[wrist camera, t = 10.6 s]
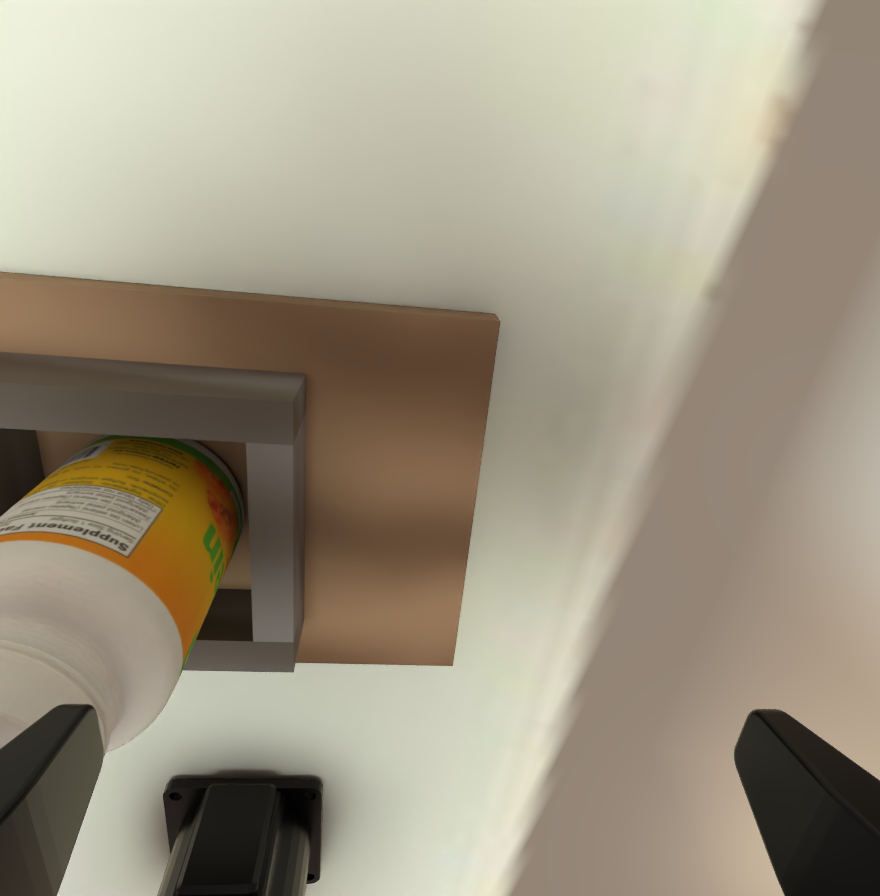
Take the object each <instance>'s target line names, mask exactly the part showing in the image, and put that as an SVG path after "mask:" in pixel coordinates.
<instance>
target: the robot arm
mask: <svg viewBox="0 0 880 896" xmlns="http://www.w3.org/2000/svg"><path fill="white" fill-rule="evenodd" d="M103 757H104V746H103V741H102V736H101V731H100V726H99V721H98V716H97V712H96V709H95V708H94V706H92V705H90V704H61V705H58V706H56V707H54V708H53V709H51V710H50V711H49V712H47V713H46V714H45V715H43V716H42V717H41V718H39V719H38V720H37V721H36V722H34V723H33V724H32V725H30V726H29V727H28V728H26V729H25V730H24V731H23V732H21V733H20V734H19V735H17V736H16V737H15V738H13V739H12V740H11V741H10V742H8V743H7V744H6V745H4V746H3V747H2V748H0V896H57V893H58V890H59V888H60V885H61V882H62V880H63V877H64V874H65V871H66V868H67V865H68V862H69V860H70V857H71V854H72V851H73V848H74V845H75V842H76V839H77V836H78V834H79V831H80V828H81V825H82V822H83V819H84V816H85V813H86V810H87V808H88V805H89V802H90V799H91V796H92V793H93V790H94V787H95V785H96V782H97V779H98V776H99V773H100V770H101V767H102V763H103ZM734 760H735V765H736V768H737V771H738V774H739V777H740V779H741V782H742V785H743V788H744V790H745V793H746V795H747V798H748V801H749V804H750V807H751V809H752V812H753V815H754V818H755V820H756V823H757V826H758V829H759V831H760V834H761V837H762V839H763V842H764V845H765V848H766V850H767V853H768V856H769V859H770V861H771V863H772V866H773V869H774V871H775V874H776V876H777V879H778V881H779V884H780V886H781V888H782V891H783V893H784V895H785V896H880V780H878V779H877V778H875V777H874V776H873V775H871V774H870V773H869V772H867V771H866V770H864V769H863V768H861V767H860V766H859V765H857V764H856V763H855V762H853V761H852V760H850V759H849V758H848V757H846V756H845V755H844V754H842V753H841V752H840V751H838V750H837V749H835V748H834V747H833V746H831V745H830V744H828V743H827V742H826V741H824V740H823V739H821V738H820V737H819V736H817V735H816V734H814V733H813V732H812V731H810V730H809V729H808V728H806V727H805V726H804V725H802V724H801V723H799V722H798V721H797V720H795V719H794V718H793V717H791V716H790V715H788V714H787V713H785V712H783V711H781V710H776V709H755V710H753V711H751V712H750V713H749V714H748V716H747V719H746V721H745V723H744V726H743V728H742V731H741V733H740V736H739V738H738V741H737V743H736V746H735V750H734ZM163 800H164V808H165V816H166V823H167V831H168V839H169V846H170V854H171V855H170V858H169V861H168V864H167V867H166V870H165V873H164V876H163V879H162V882H161V885H160V888H159V891H158V895H157V896H305V889H306V884H311V883H315V882H317V881H318V880H319V878H320V872H321V847H322V810H323V785H322V784H321V783H320V782H319V781H317V780H312V779H177V780H172V781H170V782H169V783H168V784H167V786H166V788H165V791H164V794H163Z"/></svg>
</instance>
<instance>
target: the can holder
mask: <svg viewBox="0 0 880 896" xmlns="http://www.w3.org/2000/svg"><path fill="white" fill-rule="evenodd" d="M499 326H500V320H499V319H498V317H497V316H496V315H495V314H489V313H477V312H466V311H454V310H442V309H430V308H418V307H407V306H395V305H383V304H371V303H360V302H348V301H336V300H324V299H313V298H301V297H289V296H277V295H265V294H254V293H242V292H230V291H218V290H207V289H195V288H183V287H171V286H160V285H148V284H136V283H124V282H112V281H101V280H89V279H77V278H65V277H54V276H42V275H30V274H18V273H7V272H0V517H1V516H2V515H3V514H4V513H6V512H7V511H8V510H9V509H10V508H11V507H12V506H14V505H15V504H16V503H17V502H18V501H20V500H21V499H22V498H23V497H24V496H26V495H27V494H28V493H29V492H30V491H32V490H33V489H34V488H35V487H36V486H38V485H39V484H40V483H41V482H42V481H43V480H45V479H46V478H47V477H48V476H49V475H50V474H52V473H53V472H54V471H55V470H56V469H58V468H59V467H60V466H61V465H62V464H64V463H65V462H66V461H67V460H68V459H69V458H71V457H72V456H73V455H75V454H76V453H77V452H78V451H80V450H81V449H83V448H84V447H85V446H86V445H88V444H89V443H91V442H93V441H94V440H96V439H98V438H100V437H102V436H105V435H107V434H108V435H125V436H142V437H159V438H176V439H191V440H193V441H195V442H197V443H199V444H201V445H202V446H204V447H205V448H207V449H208V450H210V451H211V452H212V453H213V454H214V455H216V456H217V457H218V458H219V459H220V460H221V461H222V462H223V463H224V465H225V466H226V467H227V468H228V470H229V471H230V472H231V474H232V475H233V477H234V479H235V481H236V483H237V485H238V487H239V489H240V492H241V495H242V499H243V506H244V523H243V528H242V532H241V535H240V538H239V541H238V544H237V546H236V549H235V551H234V554H233V556H232V558H231V560H230V562H229V564H228V567H227V569H226V571H225V574H224V576H223V578H222V580H221V582H220V585H219V587H218V589H217V591H216V594H215V596H214V598H213V601H212V603H211V605H210V608H209V610H208V612H207V615H206V617H205V619H204V622H203V624H202V626H201V628H200V631H199V633H198V635H197V638H196V640H195V642H194V645H193V647H192V649H191V652H190V654H189V656H188V659H187V661H186V663H185V665H184V668H183V670H198V671H250V672H294V667H295V663H339V664H386V665H433V666H453V660H454V653H455V646H456V638H457V631H458V624H459V617H460V609H461V602H462V595H463V588H464V580H465V573H466V566H467V559H468V551H469V544H470V537H471V530H472V522H473V515H474V508H475V500H476V493H477V486H478V479H479V471H480V464H481V457H482V450H483V442H484V435H485V428H486V421H487V413H488V406H489V399H490V392H491V384H492V377H493V370H494V363H495V355H496V348H497V341H498V334H499Z"/></svg>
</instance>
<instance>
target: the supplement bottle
mask: <svg viewBox="0 0 880 896" xmlns="http://www.w3.org/2000/svg"><path fill="white" fill-rule="evenodd" d="M243 523H244V506H243V499H242V495H241V492H240V489H239V487H238V485H237V483H236V481H235V479H234V477H233V475H232V474H231V472H230V471H229V470H228V468H227V467H226V466H225V465H224V463H223V462H222V461H221V460H220V459H219V458H218V457H217V456H216V455H214V454H213V453H212V452H211V451H210V450H208V449H207V448H205V447H204V446H202V445H201V444H199V443H197V442H195V441H193V440H191V439H176V438H159V437H142V436H125V435H108V434H107V435H105V436H102V437H100V438H98V439H96V440H94V441H93V442H91V443H89V444H88V445H86V446H85V447H84V448H83V449H81V450H80V451H78V452H77V453H76V454H75V455H73V456H72V457H71V458H69V459H68V460H67V461H66V462H65V463H64V464H62V465H61V466H60V467H59V468H58V469H56V470H55V471H54V472H53V473H52V474H50V475H49V476H48V477H47V478H46V479H45V480H43V481H42V482H41V483H40V484H39V485H38V486H36V487H35V488H34V489H33V490H32V491H30V492H29V493H28V494H27V495H26V496H24V497H23V498H22V499H21V500H20V501H18V502H17V503H16V504H15V505H14V506H12V507H11V508H10V509H9V510H8V511H7V512H6V513H4V514H3V515H2V516H1V517H0V748H2V747H3V746H4V745H6V744H7V743H8V742H10V741H11V740H12V739H13V738H15V737H16V736H17V735H19V734H20V733H21V732H23V731H24V730H25V729H26V728H28V727H29V726H30V725H32V724H33V723H34V722H36V721H37V720H38V719H39V718H41V717H42V716H43V715H45V714H46V713H47V712H49V711H50V710H51V709H53V708H54V707H56V706H58V705H61V704H90V705H92V706H94V708H95V709H96V712H97V716H98V721H99V726H100V731H101V736H102V741H103V746H104V755H105V753H107V752H109V751H112V750H114V749H116V748H118V747H120V746H122V745H124V744H126V743H127V742H129V741H131V740H132V739H134V738H135V737H136V736H137V735H139V734H140V733H141V732H142V731H144V730H145V729H146V728H147V727H148V726H149V725H150V724H151V723H152V722H153V721H154V720H155V719H156V717H157V716H158V715H159V714H160V712H161V711H162V710H163V708H164V706H165V705H166V703H167V701H168V699H169V697H170V695H171V694H172V692H173V690H174V688H175V686H176V684H177V682H178V679H179V677H180V675H181V673H182V670H183V668H184V665H185V663H186V661H187V659H188V656H189V654H190V652H191V649H192V647H193V645H194V642H195V640H196V638H197V635H198V633H199V631H200V628H201V626H202V624H203V622H204V619H205V617H206V615H207V612H208V610H209V608H210V605H211V603H212V601H213V598H214V596H215V594H216V591H217V589H218V587H219V585H220V582H221V580H222V578H223V576H224V574H225V571H226V569H227V567H228V564H229V562H230V560H231V558H232V556H233V554H234V551H235V549H236V546H237V544H238V541H239V538H240V535H241V532H242V528H243Z"/></svg>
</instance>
